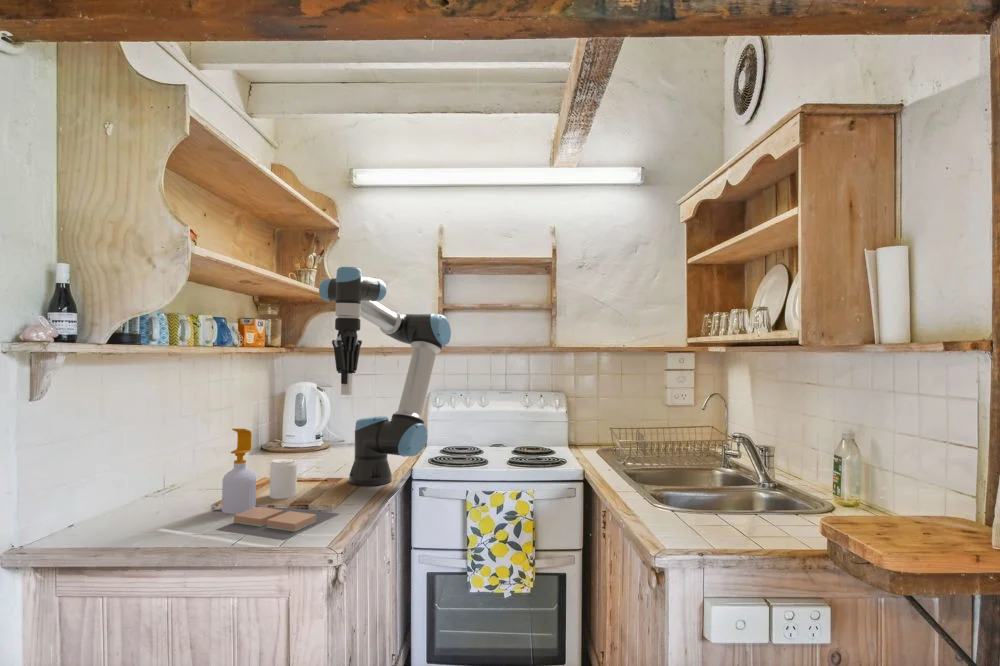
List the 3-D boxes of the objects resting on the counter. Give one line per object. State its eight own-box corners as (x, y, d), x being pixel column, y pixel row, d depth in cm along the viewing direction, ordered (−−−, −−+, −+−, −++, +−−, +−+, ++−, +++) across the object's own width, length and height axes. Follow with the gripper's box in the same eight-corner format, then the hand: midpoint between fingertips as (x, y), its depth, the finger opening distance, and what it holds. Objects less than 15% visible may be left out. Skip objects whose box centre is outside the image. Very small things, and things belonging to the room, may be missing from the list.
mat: (277, 507, 177) (277, 505, 177) (339, 516, 170) (339, 514, 170) (215, 531, 154) (215, 529, 154) (284, 542, 147) (284, 540, 147)
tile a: (289, 510, 164) (266, 520, 156) (316, 514, 161) (295, 524, 153) (289, 518, 164) (266, 528, 156) (316, 522, 161) (294, 532, 153)
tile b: (257, 506, 168) (233, 515, 159) (283, 510, 165) (260, 519, 156) (257, 514, 168) (233, 523, 159) (283, 517, 165) (260, 527, 156)
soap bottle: (216, 515, 168) (218, 429, 168) (230, 506, 177) (232, 425, 177) (247, 516, 168) (249, 430, 168) (260, 507, 177) (262, 425, 177)
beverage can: (263, 499, 185) (264, 461, 186) (281, 493, 193) (282, 456, 193) (285, 502, 183) (285, 463, 183) (301, 495, 191) (302, 458, 191)
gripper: (349, 318, 187) (347, 392, 186) (324, 316, 174) (322, 395, 174) (369, 318, 184) (368, 393, 184) (346, 316, 172) (344, 397, 171)
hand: (346, 394), depth 179 cm, fingers closed
